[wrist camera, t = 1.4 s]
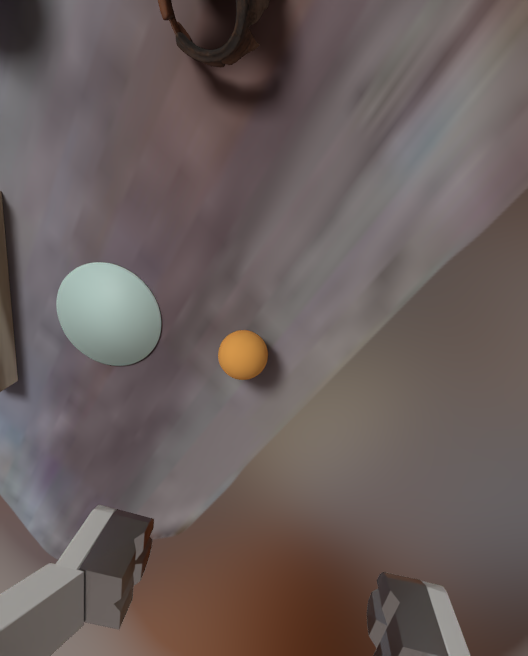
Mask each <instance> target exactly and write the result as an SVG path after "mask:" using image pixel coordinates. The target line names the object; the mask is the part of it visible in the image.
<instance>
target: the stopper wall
mask: <svg viewBox="0 0 528 656" xmlns="http://www.w3.org/2000/svg"><path fill="white" fill-rule="evenodd" d="M17 381H18V375H17V364H16V352H15V341H14V330H13V318H12V307H11V295H10V284H9V272H8V261H7V249H6V238H5V226H4V215H3V204H2V192H1V191H0V392H1V391H3V390H4V389H6V388H7V387H9V386H10V385H12V384H14V383H15V382H17Z"/></svg>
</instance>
